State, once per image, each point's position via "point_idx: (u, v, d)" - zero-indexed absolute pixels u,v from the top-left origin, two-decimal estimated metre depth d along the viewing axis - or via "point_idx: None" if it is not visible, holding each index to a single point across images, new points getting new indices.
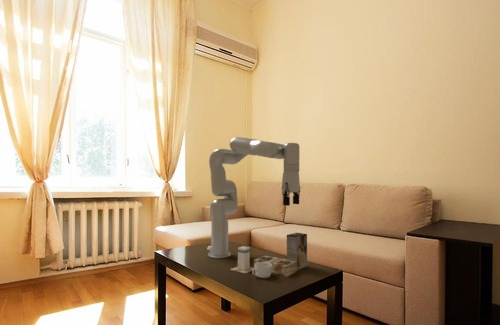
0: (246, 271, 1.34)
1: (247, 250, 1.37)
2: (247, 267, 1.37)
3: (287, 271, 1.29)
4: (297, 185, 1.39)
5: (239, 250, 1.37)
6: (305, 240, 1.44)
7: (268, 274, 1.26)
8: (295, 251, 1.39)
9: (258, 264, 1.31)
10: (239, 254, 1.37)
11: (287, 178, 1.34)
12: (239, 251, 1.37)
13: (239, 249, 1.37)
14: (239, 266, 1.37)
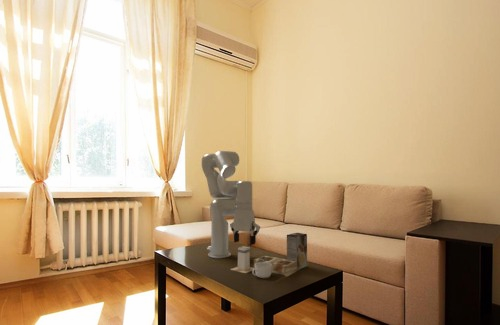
0: (246, 271, 1.34)
1: (247, 250, 1.37)
2: (247, 267, 1.37)
3: (287, 271, 1.29)
4: None
5: (239, 250, 1.37)
6: (305, 240, 1.44)
7: (268, 274, 1.26)
8: (295, 251, 1.39)
9: (258, 264, 1.31)
10: (239, 254, 1.37)
11: (253, 217, 1.36)
12: (239, 251, 1.37)
13: (239, 249, 1.37)
14: (239, 266, 1.37)
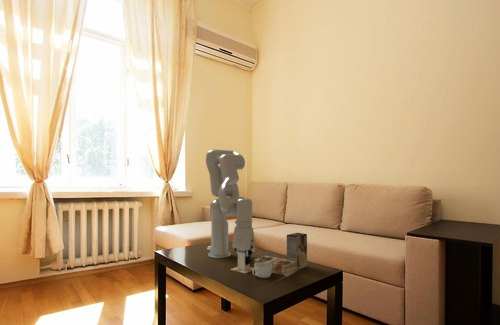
0: (246, 271, 1.34)
1: None
2: (247, 267, 1.37)
3: (287, 271, 1.29)
4: None
5: (239, 250, 1.37)
6: (305, 240, 1.44)
7: (268, 274, 1.26)
8: (295, 251, 1.39)
9: (258, 264, 1.31)
10: (239, 254, 1.37)
11: (252, 235, 1.36)
12: (239, 251, 1.37)
13: (239, 249, 1.37)
14: (239, 266, 1.37)
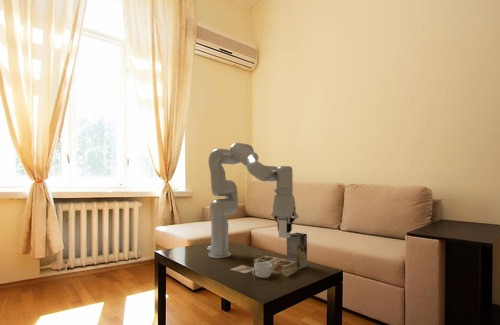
0: (246, 271, 1.34)
1: None
2: (288, 235, 1.35)
3: (287, 271, 1.29)
4: None
5: (280, 218, 1.35)
6: (305, 240, 1.44)
7: (268, 274, 1.26)
8: (295, 251, 1.39)
9: (258, 264, 1.31)
10: (280, 222, 1.35)
11: (294, 202, 1.34)
12: (281, 219, 1.35)
13: (280, 217, 1.35)
14: (280, 234, 1.35)
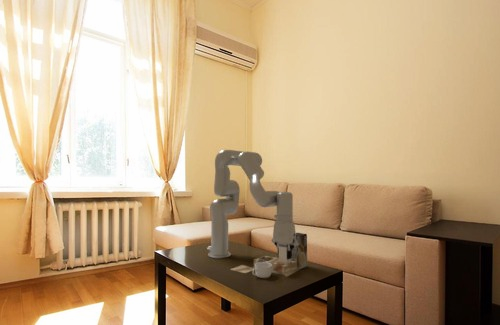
0: (246, 271, 1.34)
1: None
2: (288, 262, 1.34)
3: (287, 271, 1.29)
4: None
5: (280, 244, 1.35)
6: (305, 240, 1.44)
7: (268, 274, 1.26)
8: (295, 251, 1.39)
9: (258, 264, 1.31)
10: (280, 248, 1.34)
11: (294, 229, 1.34)
12: (281, 245, 1.34)
13: (280, 243, 1.35)
14: (280, 261, 1.34)
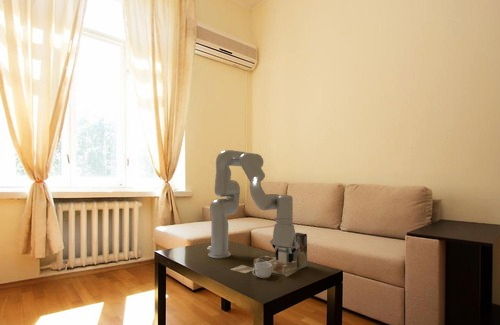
0: (246, 271, 1.34)
1: (288, 249, 1.35)
2: None
3: (287, 271, 1.29)
4: None
5: (280, 249, 1.35)
6: (305, 240, 1.44)
7: (268, 274, 1.26)
8: (295, 251, 1.39)
9: (258, 264, 1.31)
10: (280, 254, 1.34)
11: (294, 232, 1.34)
12: (280, 250, 1.34)
13: (280, 248, 1.35)
14: None
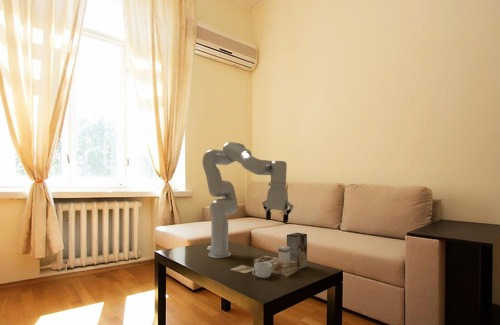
0: (246, 271, 1.34)
1: (288, 249, 1.35)
2: None
3: (287, 271, 1.29)
4: None
5: (280, 249, 1.35)
6: (305, 240, 1.44)
7: (268, 274, 1.26)
8: (295, 251, 1.39)
9: (258, 264, 1.31)
10: (280, 254, 1.34)
11: (286, 196, 1.39)
12: (280, 250, 1.34)
13: (280, 248, 1.35)
14: None
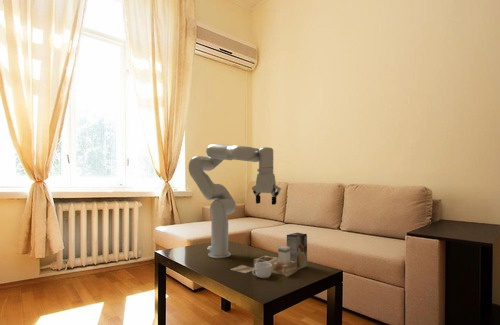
0: (246, 271, 1.34)
1: (288, 249, 1.35)
2: None
3: (287, 271, 1.29)
4: None
5: (280, 249, 1.35)
6: (305, 240, 1.44)
7: (268, 274, 1.26)
8: (295, 251, 1.39)
9: (258, 264, 1.31)
10: (280, 254, 1.34)
11: (274, 180, 1.49)
12: (280, 250, 1.34)
13: (280, 248, 1.35)
14: None
